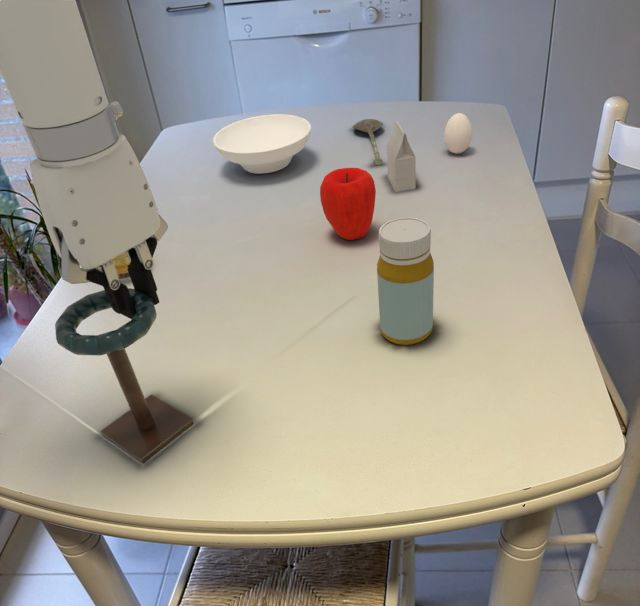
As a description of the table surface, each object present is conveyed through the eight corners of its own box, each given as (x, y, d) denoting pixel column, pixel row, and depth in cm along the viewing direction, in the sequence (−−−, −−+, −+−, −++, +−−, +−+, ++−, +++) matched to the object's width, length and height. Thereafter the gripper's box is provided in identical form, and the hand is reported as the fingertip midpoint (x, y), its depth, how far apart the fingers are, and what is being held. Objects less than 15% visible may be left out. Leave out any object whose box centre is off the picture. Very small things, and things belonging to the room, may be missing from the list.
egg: (448, 146, 129) (449, 107, 124) (474, 148, 127) (476, 109, 122) (439, 157, 126) (440, 118, 121) (466, 159, 124) (468, 119, 119)
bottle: (370, 331, 88) (363, 230, 78) (409, 310, 91) (407, 209, 80) (403, 354, 84) (401, 250, 74) (443, 332, 86) (446, 228, 76)
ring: (41, 338, 69) (33, 322, 67) (119, 290, 74) (113, 275, 72) (97, 372, 63) (89, 356, 62) (177, 318, 68) (172, 302, 67)
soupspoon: (381, 127, 142) (352, 132, 143) (380, 110, 140) (350, 116, 141) (394, 163, 126) (361, 169, 126) (393, 146, 124) (359, 152, 124)
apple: (314, 240, 108) (306, 177, 101) (347, 218, 112) (342, 156, 105) (355, 254, 103) (350, 189, 96) (388, 230, 108) (386, 166, 100)
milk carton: (395, 192, 117) (394, 136, 110) (387, 177, 122) (385, 122, 115) (415, 189, 117) (415, 132, 110) (407, 174, 122) (406, 119, 115)
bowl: (305, 186, 123) (300, 150, 119) (208, 189, 127) (200, 154, 122) (322, 145, 137) (318, 111, 132) (234, 149, 141) (227, 116, 136)
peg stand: (103, 436, 79) (62, 353, 70) (153, 400, 83) (120, 316, 74) (143, 464, 75) (105, 379, 66) (194, 424, 79) (165, 338, 70)
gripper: (120, 98, 63) (172, 264, 76) (-29, 161, 56) (57, 334, 68) (169, 108, 59) (214, 282, 72) (16, 178, 52) (98, 358, 64)
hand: (137, 306), depth 70 cm, fingers closed on ring, 2 cm apart
